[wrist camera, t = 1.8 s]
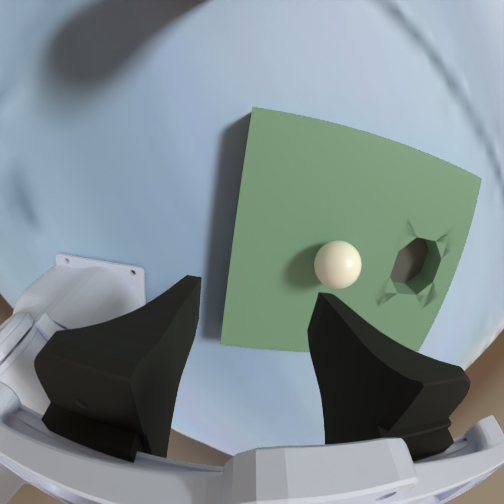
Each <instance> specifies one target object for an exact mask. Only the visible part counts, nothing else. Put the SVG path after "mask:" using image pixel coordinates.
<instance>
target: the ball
mask: <svg viewBox="0 0 504 504" xmlns="http://www.w3.org/2000/svg"><path fill="white" fill-rule="evenodd" d="M361 266H362V263H361V258H360V255H359V253H358V251H357V250H356V248H355V247H354V246H352V245H351V244H349V243H347V242H345V241H331V242H329V243H327V244H325V245H324V246H322V247H321V248H320V250H319V251H318V252H317V254H316V257H315V261H314V269H315V273H316V276H317V277H318V279H319V280H320V281H321V282H322V283H323V284H324V285H325V286H327V287H329V288H333V289H342V288H346V287H348V286H350V285H351V284H353V283H354V282H355V281H356V280H357V278H358V276H359V275H360V272H361Z"/></svg>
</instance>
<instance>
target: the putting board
mask: <svg viewBox="0 0 504 504" xmlns="http://www.w3.org/2000/svg"><path fill="white" fill-rule="evenodd" d="M481 179H482V178H480V177H478V176H476V175H474V174H472V173H470V172H468V171H466V170H464V169H462V168H459V167H457V166H455V165H453V164H451V163H449V162H446V161H444V160H442V159H439V158H437V157H435V156H432V155H430V154H427V153H425V152H422V151H420V150H417V149H415V148H412V147H409V146H407V145H404V144H401V143H398V142H396V141H393V140H390V139H387V138H384V137H381V136H378V135H375V134H371V133H368V132H365V131H361V130H358V129H354V128H351V127H347V126H344V125H340V124H336V123H332V122H328V121H324V120H320V119H315V118H311V117H306V116H301V115H296V114H291V113H286V112H281V111H275V110H269V109H263V108H256V107H252V113H251V119H250V126H249V132H248V139H247V145H246V152H245V158H244V165H243V172H242V179H241V186H240V193H239V200H238V207H237V214H236V222H235V229H234V236H233V244H232V252H231V259H230V267H229V275H228V283H227V291H226V299H225V308H224V316H223V325H222V333H221V342H220V344H221V345H230V346H239V347H248V348H259V349H271V350H284V351H301V352H310V350H309V344H308V334H307V329H308V326H309V323H310V319H311V316H312V313H313V310H314V306H315V303H316V300H317V297H318V293H319V292H322V293H332V294H334V295H335V296H336V297H338V298H339V299H340V300H342V301H343V302H344V303H345V304H346V305H348V306H349V307H350V308H351V309H352V310H354V311H355V312H356V313H357V314H358V315H359V316H361V317H362V318H363V319H364V320H366V321H367V322H368V323H370V324H371V325H372V326H374V327H375V328H376V329H378V330H379V331H380V332H382V333H383V334H385V335H386V336H388V337H390V338H391V339H393V340H395V341H396V342H398V343H400V344H402V345H403V346H405V347H407V348H409V349H411V350H413V351H419V349H420V347H421V346H422V344H423V342H424V340H425V338H426V336H427V334H428V332H429V330H430V328H431V326H432V324H433V322H434V320H435V318H436V316H437V314H438V312H439V310H440V308H441V305H442V303H443V301H444V299H445V296H446V294H447V292H448V289H449V287H450V284H451V282H452V279H453V277H454V274H455V271H456V269H457V266H458V263H459V260H460V258H461V255H462V252H463V249H464V246H465V243H466V239H467V236H468V233H469V229H470V226H471V222H472V219H473V215H474V211H475V207H476V203H477V198H478V194H479V189H480V184H481ZM331 241H345V242H347V243H349V244H351V245H352V246H354V247H355V248H356V250H357V251H358V253H359V255H360V258H361V263H362V266H361V272H360V275H359V276H358V278H357V280H356V281H355V282H354V283H353V284H351V285H350V286H348V287H346V288H342V289H333V288H329V287H327V286H325V285H324V284H323V283H322V282H321V281H320V280H319V279H318V277H317V276H316V273H315V269H314V261H315V257H316V254H317V252H318V251H319V250H320V248H321V247H322V246H324V245H325V244H327V243H329V242H331Z"/></svg>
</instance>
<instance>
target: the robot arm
mask: <svg viewBox="0 0 504 504" xmlns="http://www.w3.org/2000/svg"><path fill="white" fill-rule="evenodd" d="M67 259H68V260H69V262H68V261H67ZM55 260H56V265H55V266H54V267H52V268H51V269H50V270H49V271H48V272H46V273H45V274H44V275H43V276H41V277H40V278H39V279H38V280H37V281H35V282H34V283H33V284H32V285H31V286H30V287H28V288H27V289H26V290H25V291H24V292H23V293H22V294H21V296H20V297H19V299H18V301H17V303H16V305H15V308H14V311H13V315H12V316H11V317H10V318H8V319H7V320H6V321H5V322H4V323H3V324H2V325H1V326H0V504H6V503H7V502H8V501H9V500H10V499H11V497H12V496H13V495H14V494H15V493H16V491H17V490H18V489H19V488H20V487H21V485H22V484H32V485H34V486H35V487H37V488H38V489H40V490H42V491H43V492H45V493H47V494H49V495H51V496H52V497H54V498H56V499H58V500H59V501H61V502H63V503H65V504H443V503H445V502H447V501H449V500H451V499H453V498H455V497H457V496H458V495H460V494H462V493H464V492H466V491H467V490H469V489H471V488H473V487H474V486H475V485H477V484H478V483H480V482H481V481H483V480H484V479H485V478H487V477H488V476H489V475H491V474H492V473H493V472H494V471H496V470H497V469H498V468H499V467H500V466H502V465H503V464H504V434H503V432H502V430H501V429H500V427H499V425H498V423H497V422H496V420H495V418H494V417H493V415H491V416H489V417H487V418H484V419H482V420H480V421H478V422H476V423H475V424H473V425H472V426H471V427H470V428H469V429H468V430H467V431H466V433H465V434H464V435H462V436H460V437H457V438H454V439H453V438H452V436H451V434H450V432H449V430H448V427H450V426H451V421H450V420H449V418H448V417H449V416H450V415H451V414H452V412H453V411H454V410H455V409H456V408H457V406H458V405H459V404H460V403H461V402H462V400H463V399H464V398H465V396H466V395H467V393H468V390H469V388H470V380H469V378H468V376H467V375H466V373H465V372H464V370H463V369H462V368H461V367H459V366H456V365H452V364H448V363H445V362H441V361H438V360H435V359H433V358H430V357H427V356H425V355H422V354H420V353H418V352H415V351H413V350H411V349H409V348H407V347H405V346H403V345H402V344H400V343H398V342H396V341H395V340H393V339H391V338H390V337H388V336H386V335H385V334H383V333H382V332H380V331H379V330H378V329H376V328H375V327H374V326H372V325H371V324H370V323H368V322H367V321H366V320H364V319H363V318H362V317H361V316H359V315H358V314H357V313H356V312H355V311H354V310H352V309H351V308H350V307H349V306H348V305H346V304H345V303H344V302H343V301H342V300H340V299H339V298H338V297H336V296H335V295H334V294H332V293H322V292H319V293H318V297H317V300H316V303H315V306H314V310H313V313H312V316H311V319H310V323H309V326H308V329H307V334H308V344H309V350H310V354H311V358H312V362H313V366H314V370H315V373H316V377H317V381H318V385H319V389H320V394H321V399H322V408H323V417H324V430H325V445H307V446H276V447H263V448H255V449H252V450H249V451H245V452H241V453H238V454H236V455H235V456H233V457H232V458H231V459H230V460H229V461H228V462H227V463H226V464H225V465H224V467H218V466H210V465H202V464H195V463H189V462H183V461H178V460H172V459H168V458H166V456H167V449H168V442H169V435H170V429H171V423H172V417H173V412H174V406H175V401H176V396H177V391H178V386H179V383H180V379H181V376H182V373H183V370H184V367H185V364H186V361H187V358H188V355H189V352H190V349H191V347H192V344H193V341H194V338H195V334H196V329H197V324H198V319H199V306H200V291H201V277H196V276H189V275H187V276H185V277H184V278H183V279H181V280H180V281H179V282H177V283H176V284H175V285H174V286H172V287H171V288H170V289H168V290H167V291H165V292H164V293H163V294H161V295H160V296H158V297H157V298H155V299H154V300H152V301H150V302H149V303H147V304H146V294H145V271H144V269H143V268H142V267H138V266H132V265H126V264H120V263H114V262H107V261H102V260H96V259H90V258H84V257H78V256H73V255H67V254H62V253H58V254H57V255H56V256H55ZM131 270H134V271H135V274H134V273H132V271H131Z"/></svg>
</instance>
